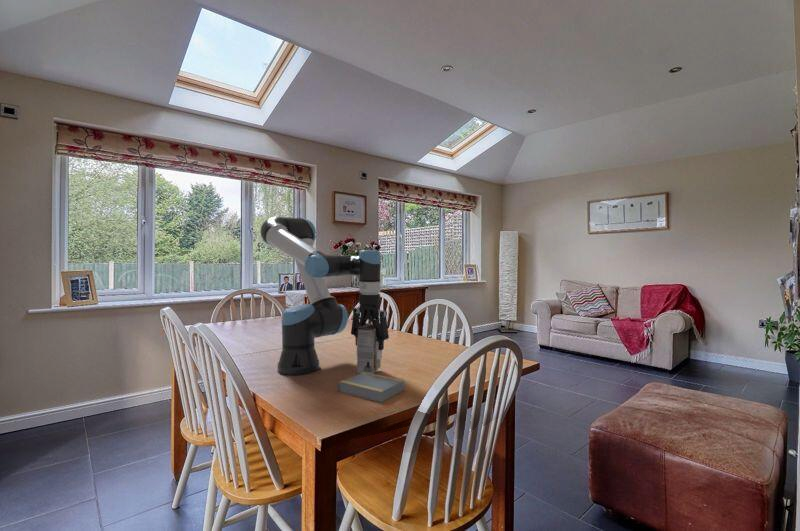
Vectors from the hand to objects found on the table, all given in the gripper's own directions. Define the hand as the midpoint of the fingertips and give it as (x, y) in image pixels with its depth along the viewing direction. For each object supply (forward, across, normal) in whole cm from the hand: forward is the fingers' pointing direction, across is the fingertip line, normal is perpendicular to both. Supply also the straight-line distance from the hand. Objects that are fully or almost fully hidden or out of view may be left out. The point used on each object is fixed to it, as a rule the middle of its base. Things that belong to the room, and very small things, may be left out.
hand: (369, 356), depth 137 cm
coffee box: (+5, 0, 0) cm, 5 cm away
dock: (+6, +12, -13) cm, 18 cm away
